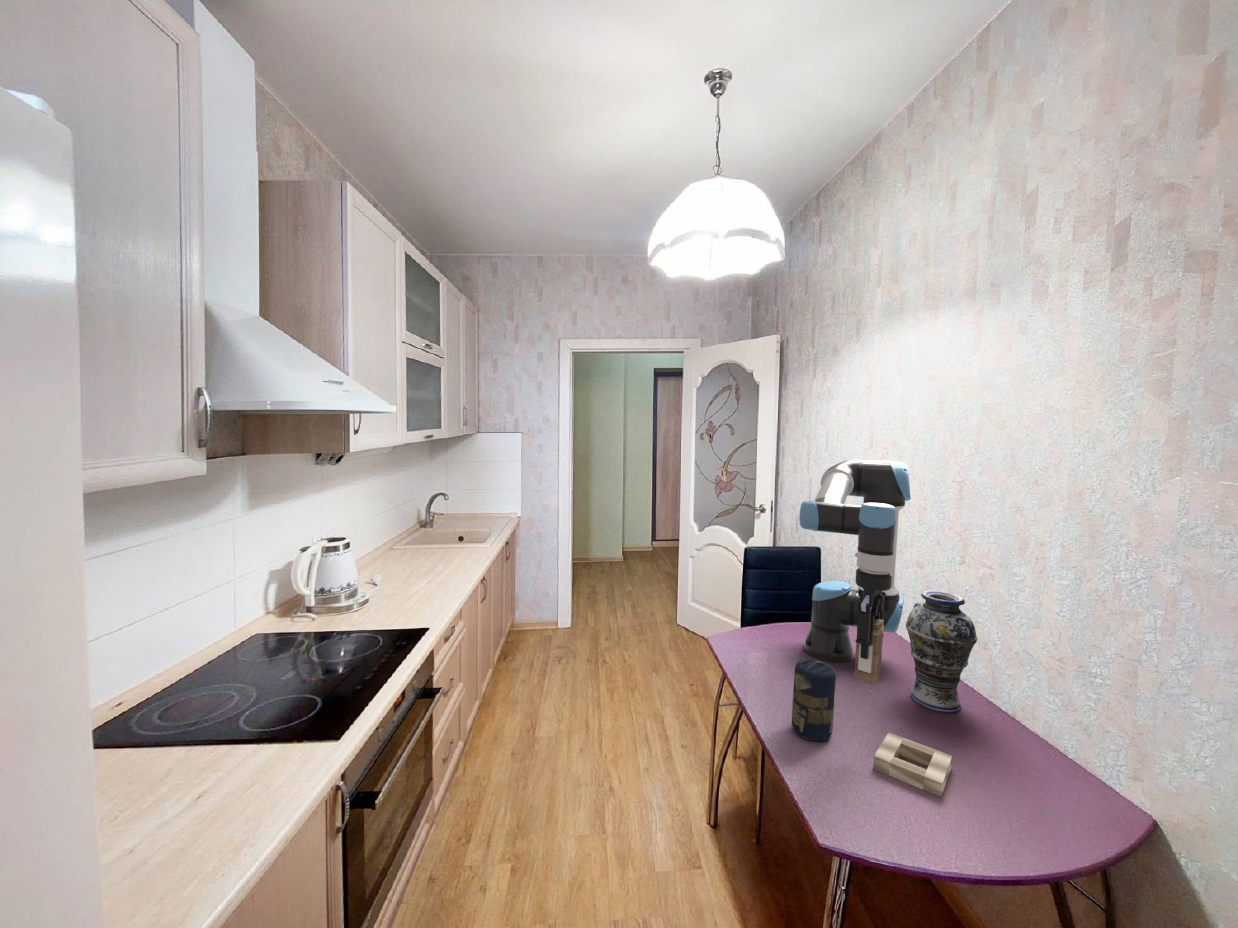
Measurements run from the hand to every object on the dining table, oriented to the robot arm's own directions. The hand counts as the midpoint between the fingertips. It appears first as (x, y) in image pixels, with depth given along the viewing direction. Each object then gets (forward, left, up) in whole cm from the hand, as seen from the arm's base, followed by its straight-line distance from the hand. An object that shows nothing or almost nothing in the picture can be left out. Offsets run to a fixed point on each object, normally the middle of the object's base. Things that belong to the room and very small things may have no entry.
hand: (868, 666), depth 124 cm
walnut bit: (0, 0, -3) cm, 3 cm away
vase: (-34, +9, -19) cm, 40 cm away
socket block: (+3, +11, -19) cm, 22 cm away
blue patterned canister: (+4, -11, -19) cm, 22 cm away
